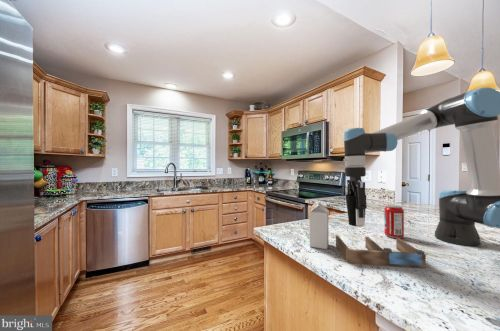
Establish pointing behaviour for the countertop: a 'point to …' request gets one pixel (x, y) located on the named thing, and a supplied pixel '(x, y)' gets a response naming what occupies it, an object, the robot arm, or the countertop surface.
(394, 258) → the comb rack
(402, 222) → the soda can
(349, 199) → the cup
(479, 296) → the countertop surface
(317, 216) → the milk carton
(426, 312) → the countertop surface
